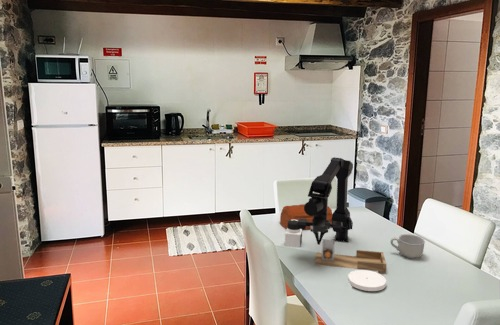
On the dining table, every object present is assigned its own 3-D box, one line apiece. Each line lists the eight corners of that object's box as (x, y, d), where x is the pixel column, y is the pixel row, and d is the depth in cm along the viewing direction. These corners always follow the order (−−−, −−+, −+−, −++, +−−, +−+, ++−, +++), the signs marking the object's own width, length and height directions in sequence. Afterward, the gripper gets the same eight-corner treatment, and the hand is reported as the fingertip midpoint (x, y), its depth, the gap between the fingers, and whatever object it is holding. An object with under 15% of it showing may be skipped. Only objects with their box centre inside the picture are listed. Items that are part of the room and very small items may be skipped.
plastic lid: (367, 272, 167) (367, 267, 167) (393, 288, 155) (394, 282, 154) (339, 280, 161) (340, 274, 160) (365, 297, 149) (365, 290, 148)
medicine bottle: (300, 249, 189) (301, 224, 186) (284, 247, 190) (285, 222, 188) (301, 243, 195) (302, 219, 193) (286, 241, 197) (287, 217, 194)
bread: (336, 227, 217) (337, 208, 214) (288, 232, 209) (288, 212, 207) (323, 218, 231) (323, 199, 229) (277, 222, 224) (278, 203, 222)
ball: (324, 256, 178) (324, 250, 177) (331, 257, 177) (331, 250, 176) (323, 259, 175) (324, 252, 174) (331, 260, 174) (331, 253, 174)
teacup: (423, 253, 186) (425, 236, 184) (422, 262, 176) (424, 245, 174) (391, 247, 191) (392, 231, 190) (388, 256, 182) (389, 239, 180)
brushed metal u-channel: (321, 256, 179) (322, 239, 177) (333, 257, 178) (334, 240, 176) (321, 261, 174) (322, 243, 172) (333, 262, 173) (334, 244, 171)
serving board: (316, 254, 183) (316, 246, 182) (382, 261, 177) (383, 252, 176) (314, 266, 171) (315, 257, 171) (385, 273, 166) (386, 264, 165)
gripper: (295, 213, 166) (294, 249, 170) (343, 217, 163) (341, 254, 166) (298, 205, 177) (297, 239, 180) (343, 208, 173) (341, 243, 177)
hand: (318, 244), depth 175 cm, fingers closed
